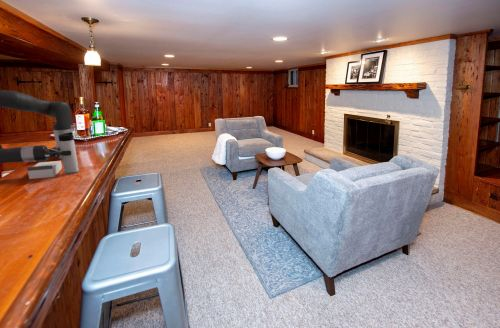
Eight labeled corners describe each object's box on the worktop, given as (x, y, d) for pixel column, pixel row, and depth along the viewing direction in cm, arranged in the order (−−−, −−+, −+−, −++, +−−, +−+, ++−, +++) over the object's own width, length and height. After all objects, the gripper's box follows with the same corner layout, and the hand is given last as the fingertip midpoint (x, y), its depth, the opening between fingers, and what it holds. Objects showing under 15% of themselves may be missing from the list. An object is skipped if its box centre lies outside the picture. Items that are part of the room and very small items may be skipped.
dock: (40, 169, 155) (38, 159, 154) (62, 168, 158) (60, 158, 157) (29, 179, 140) (27, 167, 139) (53, 176, 143) (51, 165, 142)
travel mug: (82, 171, 152) (76, 132, 147) (71, 174, 146) (64, 134, 141) (73, 170, 154) (66, 131, 149) (61, 173, 148) (54, 134, 143)
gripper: (28, 149, 135) (68, 146, 140) (38, 143, 148) (75, 141, 153) (31, 164, 137) (71, 161, 142) (41, 157, 150) (77, 155, 155)
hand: (73, 151), depth 148 cm, fingers open, 8 cm apart
